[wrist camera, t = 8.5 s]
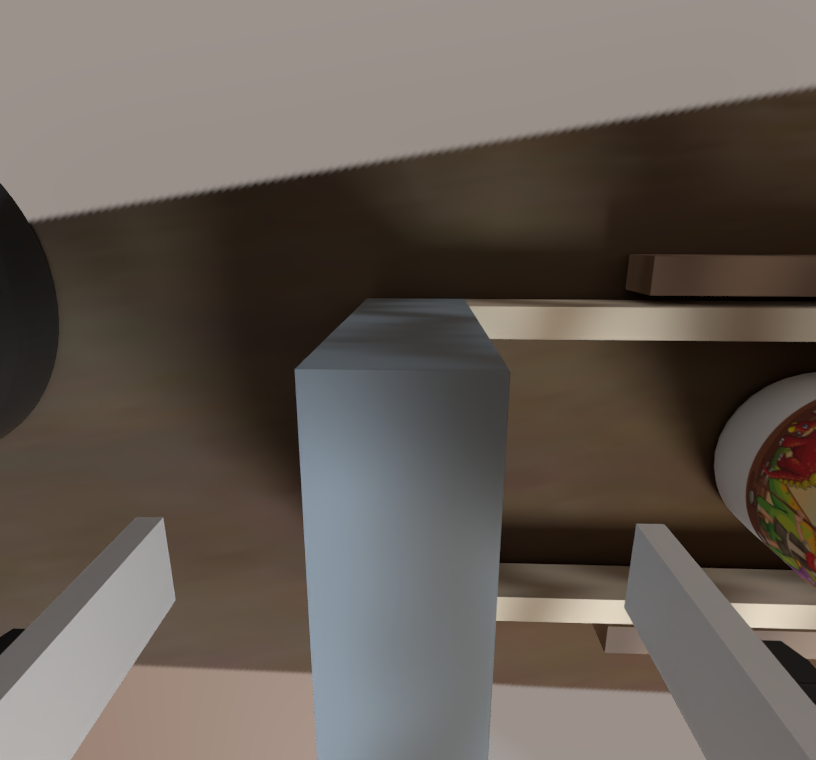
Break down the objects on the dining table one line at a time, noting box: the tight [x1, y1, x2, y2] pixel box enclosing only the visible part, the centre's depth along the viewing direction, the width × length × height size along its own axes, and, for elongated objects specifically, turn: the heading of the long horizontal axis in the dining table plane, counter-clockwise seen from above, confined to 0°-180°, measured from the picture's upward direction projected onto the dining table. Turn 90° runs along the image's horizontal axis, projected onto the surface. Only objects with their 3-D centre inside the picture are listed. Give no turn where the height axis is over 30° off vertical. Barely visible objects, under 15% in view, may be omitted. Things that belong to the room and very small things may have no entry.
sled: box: [295, 298, 816, 760], centre depth 17 cm, size 24×14×12 cm, turn 90°
